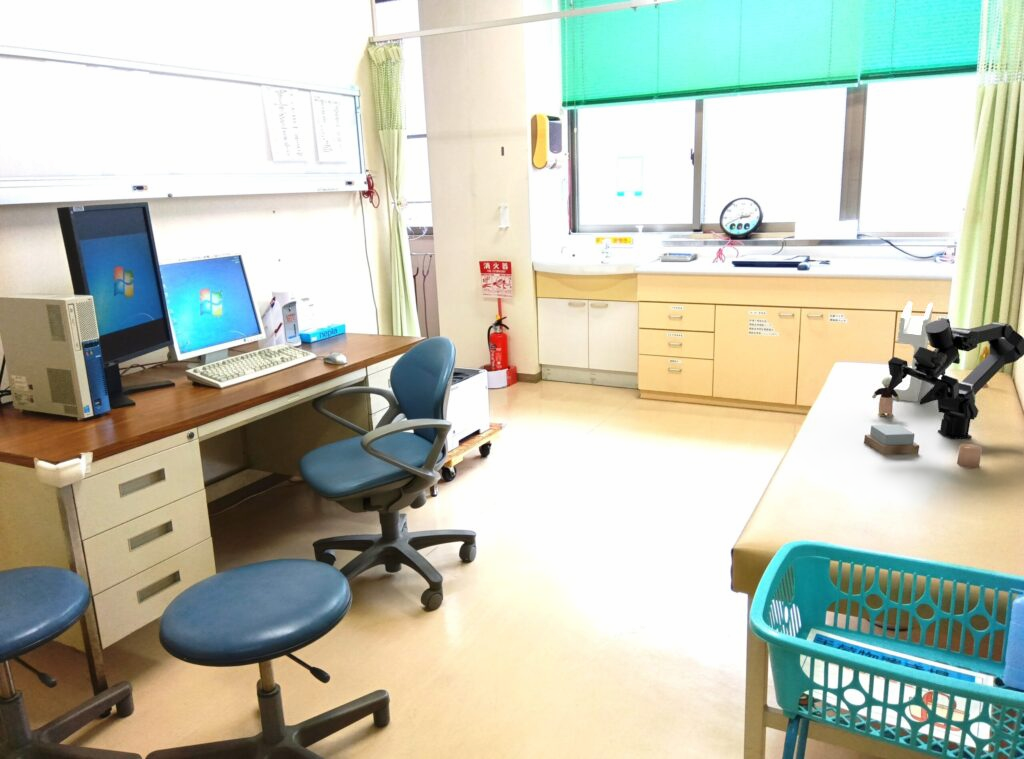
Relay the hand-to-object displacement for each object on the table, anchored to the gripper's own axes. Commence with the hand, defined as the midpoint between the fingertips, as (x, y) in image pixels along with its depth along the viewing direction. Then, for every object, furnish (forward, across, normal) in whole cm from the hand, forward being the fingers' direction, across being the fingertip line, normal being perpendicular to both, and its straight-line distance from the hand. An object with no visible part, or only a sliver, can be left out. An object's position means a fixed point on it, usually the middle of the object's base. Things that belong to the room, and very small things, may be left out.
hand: (903, 396), depth 205 cm
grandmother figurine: (-12, -17, +30) cm, 36 cm away
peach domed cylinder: (+3, +19, +14) cm, 23 cm away
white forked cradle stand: (-42, -30, +51) cm, 73 cm away
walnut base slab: (+8, 0, +14) cm, 16 cm away
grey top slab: (+7, 0, +11) cm, 13 cm away
